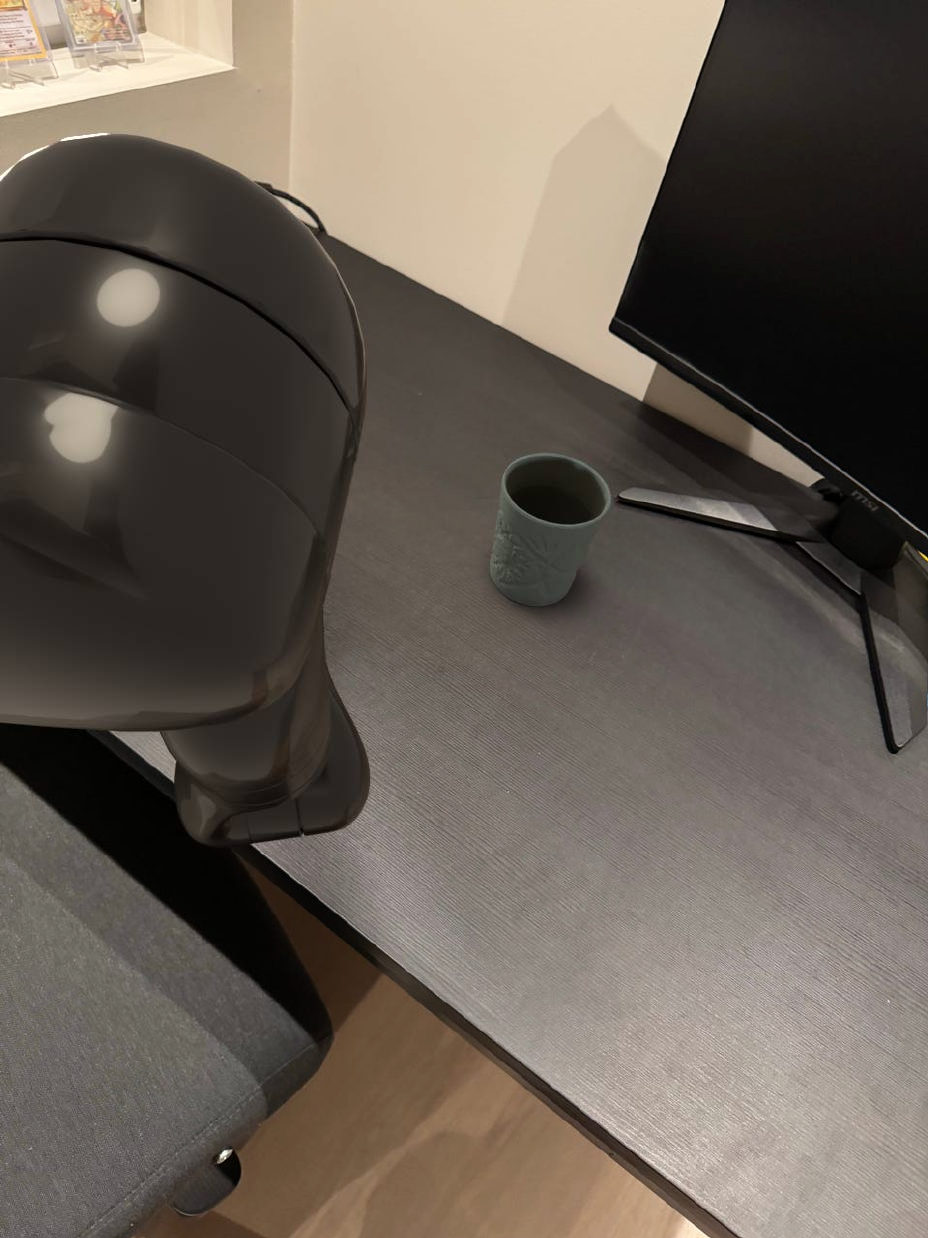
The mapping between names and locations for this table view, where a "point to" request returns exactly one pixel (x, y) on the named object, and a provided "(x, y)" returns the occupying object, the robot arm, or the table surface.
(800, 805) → the table surface
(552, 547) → the grey green embossed cup
